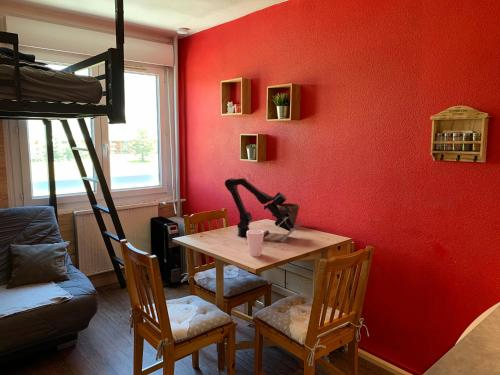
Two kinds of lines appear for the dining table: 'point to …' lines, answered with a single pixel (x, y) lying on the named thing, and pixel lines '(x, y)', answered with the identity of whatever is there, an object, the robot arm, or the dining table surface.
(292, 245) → the dining table surface
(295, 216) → the plant pot
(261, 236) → the foam cup
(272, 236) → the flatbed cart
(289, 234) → the tailgate
